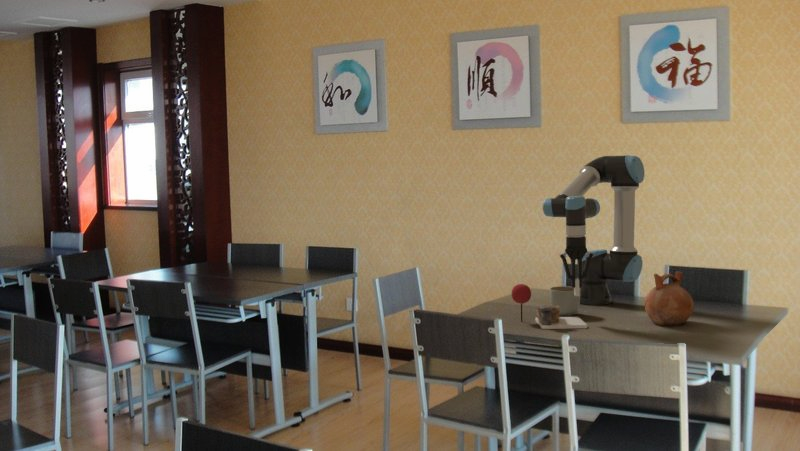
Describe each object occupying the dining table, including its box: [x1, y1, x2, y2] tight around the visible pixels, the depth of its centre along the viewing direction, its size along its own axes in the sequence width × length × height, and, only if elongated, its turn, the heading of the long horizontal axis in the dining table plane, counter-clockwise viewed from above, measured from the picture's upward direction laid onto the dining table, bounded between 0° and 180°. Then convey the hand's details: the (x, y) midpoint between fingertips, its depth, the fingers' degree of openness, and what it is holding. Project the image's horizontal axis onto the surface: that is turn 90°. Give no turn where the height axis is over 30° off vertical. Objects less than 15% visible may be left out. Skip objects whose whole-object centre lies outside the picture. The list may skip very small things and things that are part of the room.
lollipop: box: [511, 283, 532, 322], centre depth 324 cm, size 8×8×15 cm
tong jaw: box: [539, 305, 560, 322], centre depth 317 cm, size 8×16×6 cm, turn 175°
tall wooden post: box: [536, 306, 551, 325], centre depth 318 cm, size 4×15×6 cm, turn 0°
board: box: [534, 316, 588, 330], centre depth 318 cm, size 17×16×1 cm
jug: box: [644, 271, 695, 327], centre depth 316 cm, size 18×18×20 cm
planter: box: [549, 285, 581, 317], centre depth 336 cm, size 12×12×11 cm
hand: (576, 295), depth 320 cm, fingers closed
